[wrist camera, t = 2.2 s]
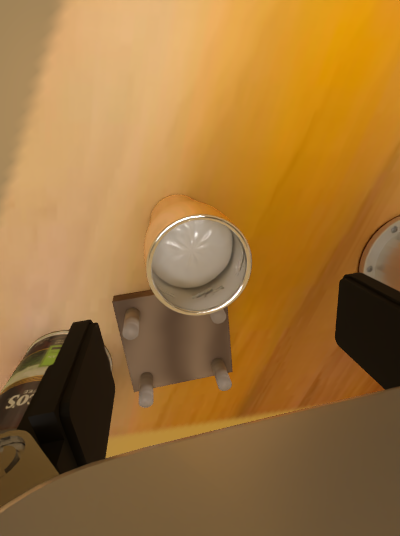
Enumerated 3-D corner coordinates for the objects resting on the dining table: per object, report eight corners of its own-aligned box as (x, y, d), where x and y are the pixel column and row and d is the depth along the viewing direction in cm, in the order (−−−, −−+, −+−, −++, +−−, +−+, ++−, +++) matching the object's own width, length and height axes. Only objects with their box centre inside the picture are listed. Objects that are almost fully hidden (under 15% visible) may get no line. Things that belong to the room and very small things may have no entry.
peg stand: (222, 278, 34) (235, 298, 29) (229, 364, 39) (241, 394, 34) (113, 296, 32) (107, 320, 27) (134, 383, 37) (132, 418, 32)
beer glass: (220, 226, 32) (275, 273, 18) (173, 264, 32) (191, 338, 19) (182, 176, 29) (212, 184, 15) (132, 218, 30) (116, 262, 16)
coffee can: (35, 319, 32) (-45, 425, 19) (123, 342, 35) (107, 448, 22) (14, 389, 34) (-69, 525, 21) (98, 405, 37) (69, 533, 24)
